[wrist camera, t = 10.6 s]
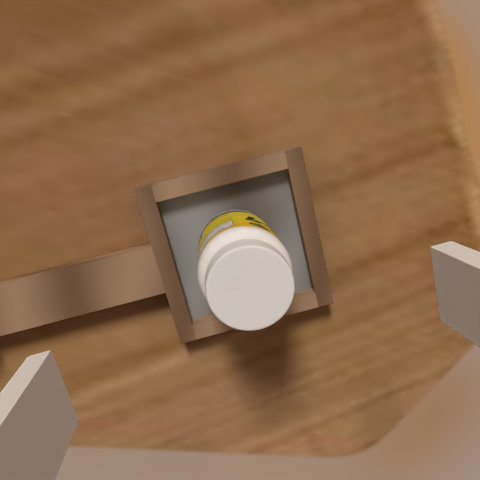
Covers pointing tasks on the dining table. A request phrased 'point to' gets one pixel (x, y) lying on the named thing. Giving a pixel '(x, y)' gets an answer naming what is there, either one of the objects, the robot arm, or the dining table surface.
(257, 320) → the supplement bottle
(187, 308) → the wooden tray with handle
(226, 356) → the dining table surface
